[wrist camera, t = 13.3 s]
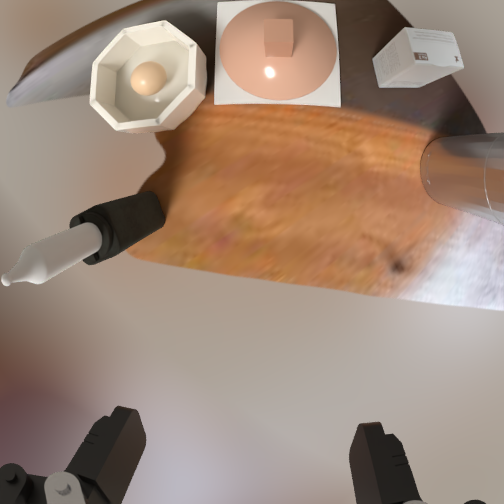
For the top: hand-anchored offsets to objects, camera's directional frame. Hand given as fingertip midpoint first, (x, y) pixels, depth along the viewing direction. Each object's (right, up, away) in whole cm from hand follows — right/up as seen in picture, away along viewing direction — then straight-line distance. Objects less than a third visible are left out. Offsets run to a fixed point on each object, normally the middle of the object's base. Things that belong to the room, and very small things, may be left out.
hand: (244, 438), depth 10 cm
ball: (-12, +27, +21) cm, 36 cm away
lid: (+3, +31, +22) cm, 38 cm away
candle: (-14, +12, +29) cm, 34 cm away
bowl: (-12, +28, +24) cm, 39 cm away
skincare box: (+18, +29, +22) cm, 41 cm away
